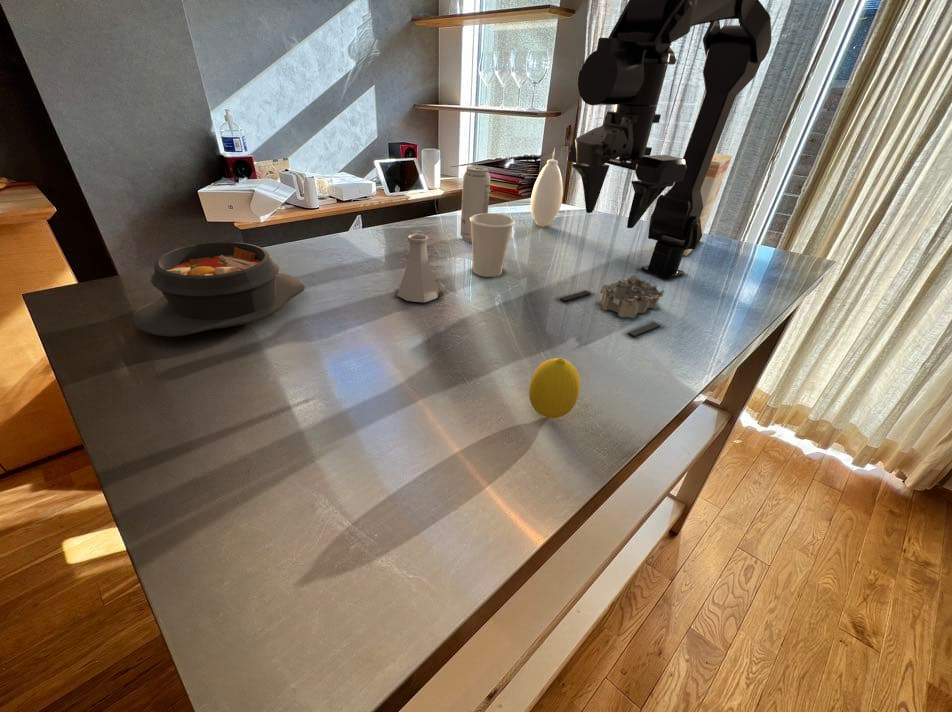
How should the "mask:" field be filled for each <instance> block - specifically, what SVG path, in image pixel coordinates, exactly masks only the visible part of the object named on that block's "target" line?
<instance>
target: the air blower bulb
mask: <svg viewBox="0 0 952 712" xmlns="http://www.w3.org/2000/svg"><path fill="white" fill-rule="evenodd" d="M555 153H556V147H554V149H553V151H552V156H551V158H550V159H548V160H547V161H546V164H545V165H544V167H542V169H541V170H540V172H539V174H538V176H537V178H536V180H535V182H534V185H533V188H532V192H531V197H530V214H531V217H532V220H533V221H534V222H535V224H536V225H537V226H539V227H542V228H544V227H547V226H549V225H550V224H551V223H553V222H554V221H555V219H557V216H558V215H559V213H560V209H561V207H562V202H563V194H564V185H563V178H562V177H563V176H562V173H561V170H560V167H559V165H558V163H559V161H558V160H557V159H555Z"/></svg>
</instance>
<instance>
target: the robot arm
mask: <svg viewBox="0 0 952 712" xmlns="http://www.w3.org/2000/svg"><path fill="white" fill-rule="evenodd" d="M724 20H738V24H733V25H732V24H730V25H729V24H728V25H727V24H725V25H724V26H722V27H721V22H720V21H724ZM771 20H772V19H771V14H770V13H769V12H768V11H767V9H766V8H765V7H764V5H763V3H761V1H760V0H628V2H627V4H626V5H625V7H624V9H623V11H621V14H620V16H619V18H618V19H617V21H616V23H615V25H614V27H613V28H612V30H611V32H610V33H609V35H608V37H599V38H598V41H597V43H596V44H597V45H596V49H595V50H594V51H593V52H591V53H590V54H589V55H588V56H587V58H586V59H585V61H584V62H583V64H582V67H581V69H580V70H579V73H578V78H577V88H578V93H579V96H580V98H581V100H582V101H583V102H584V103H585V104H587V105H589V106H613V110H608V111H606V114H605V115H604V119H603V123H602V125H600V126H597V127H594V128H593V129H590V130H589V131H587V132H585V133H583V134H581V135H579V136H577V137H576V138H575V140H574V141H573V142H572V143H571V145H570V146H569V148H568V152H567V153H568V154H567V161H568V162H570V163H571V162H572V163H571V167H572V168H573V169H574V170H576V172H577V173H578V174H579V175H580V178H581V181H582V182H581V183H582V188H583V189H582V190H583V197H584V205H585V212H586V213H587V214H591V213H593V211H594V210H595V207H596V205H597V203H598V200H599V197H600V194H601V192H602V189H603V186H604V182H605V180H606V177H607V174H608V171H609V169H610V165H612V166H616V167H620V168H623V169H627V170H631V171H634V174H635V177H636V179H637V180H631V185H632V188H633V193H634V194H633V197H632V201H631V205H630V210H629V213H628V217H627V225H626V228H627V229H634V227H635V226H636V225H637V223H638V222H639V221H640V220H641V219H642V217H643V215H645V213H646V212H647V211H648V209H649V208H650V206H651V205H652V204H653V203H654V202H656V203H655V206H654V208H653V211H652V213H651V214H650V215H651V216H650V218H649V225H648V234H647V239H648V240H653V241H656V242H655V245H654V248H653V251H652V254H651V257H650V260H649V263H648V264H647V265H644V266H641V267H640V270H641V271H643V272H645V273H646V272H647V273H649V274H652V275H654V276H656V277H659V278H661V279H664V280H670V279H673V278H676V277H679V276H682V275H684V274H685V271H684V270H682V269H679V268H680V266H681V263H682V260H683V257H684V256H685V255H684V252H685V250H688V249H693V250H696V249H697V247H698V245H699V244H700V243H701V241H700V239H701V240H702V238H703V235H702V230H701V222H700V216H701V213H702V210H703V202H702V196H701V187H702V184H703V182H704V179H705V176H706V174H707V171H708V169H709V166H710V163H711V161H712V158H713V155H714V153H716V150H717V147H718V145H719V143H720V139H721V137H722V135H723V131H724V129H725V126H726V124H727V121H728V118H729V116H730V113H731V111H732V108H733V106H734V103H735V100H736V98H737V96H738V95H739V94H740V93H741V92H742V90H743V89H745V87H746V86H748V85H749V84H750V82H751V81H752V80H754V78H755V77H756V75H757V73H758V71H759V69H760V66H761V64H762V63H763V61H764V60H765V59H766V57H767V55H768V53H769V51H770V48H771V45H772V21H771ZM703 24H709V25H708V27H707V28H706V31H705V34H704V35H703V38H702V44H703V48H704V53H705V59H704V64H703V68H702V78H703V83H704V89H705V92H704V95H703V98H702V102H701V105H700V107H699V110H698V113H697V116H696V118H695V121H694V125H693V128H692V130H691V133H690V136H689V139H688V142H687V145H686V147H685V151H684V153H683V156H682V158H681V157H678V156H672V155H668V154H656V155H651V154H652V150H653V147H652V146H651V147H650V146H648V143H649V139H650V135H651V131H652V128H653V124H659V123H660V121H661V118H662V117H661V116H662V114H660V113H657V108H658V104H659V100H660V97H661V93H662V89H663V85H664V81H665V77H666V73H667V70H668V66H669V65H671V66H674V65H675V64H676V63H677V56H676V54H675V52H674V50H673V49H672V43H674V42H676V41H678V40H680V39H681V38H683V37H684V36H686V35H688V34H689V33H690V32H691V29H692V27H694V26H698V25H703ZM567 161H566V162H567ZM669 187H670V188H669ZM666 188H669V189H668V190H667V191H666V192H665V193H664V194H662V193H663V192H664V191H665V190H666ZM698 243H699V244H698ZM693 250H692V251H693Z"/></svg>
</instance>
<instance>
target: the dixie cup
mask: <svg viewBox="0 0 952 712" xmlns="http://www.w3.org/2000/svg"><path fill="white" fill-rule="evenodd" d="M470 221H471V233H472V242H471V251H472V268H473V269H472V271H473V273H474V274H475V275H478V276H479V277H486V278H494V277H499V276H500V275H501V274H502V272H503V269H504V264H505V260H506V255H507V251H508V247H509V244H510V238H511V234H512V230H513V228H514V227H513V226H514V225H515V220H514V218H512V217H510V216H508V215H506V214H505V215H504V214H500V213H489V212H488V213H482V214H476V215H473V216H472V217H471V218H470Z"/></svg>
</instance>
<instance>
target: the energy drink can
mask: <svg viewBox="0 0 952 712" xmlns="http://www.w3.org/2000/svg"><path fill="white" fill-rule="evenodd" d="M491 178H492V177H491V175H490V172H489V168H488V167H486V166H480V165H478V166H477V165H476V166H475V165H471V166H467V167H466V170H465V172H464V174H463V176H462V192H461V211H460V212H461V213H460V229H459V230H460V233H459V235H460V237H461V239H462V241H464V242H467V243H472V233H471V221H470V218H471V217H472V216H473V215H476V214H482V213H489V202H490V201H489V200H490V192H491V191H490V190H491V180H492V179H491Z"/></svg>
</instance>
